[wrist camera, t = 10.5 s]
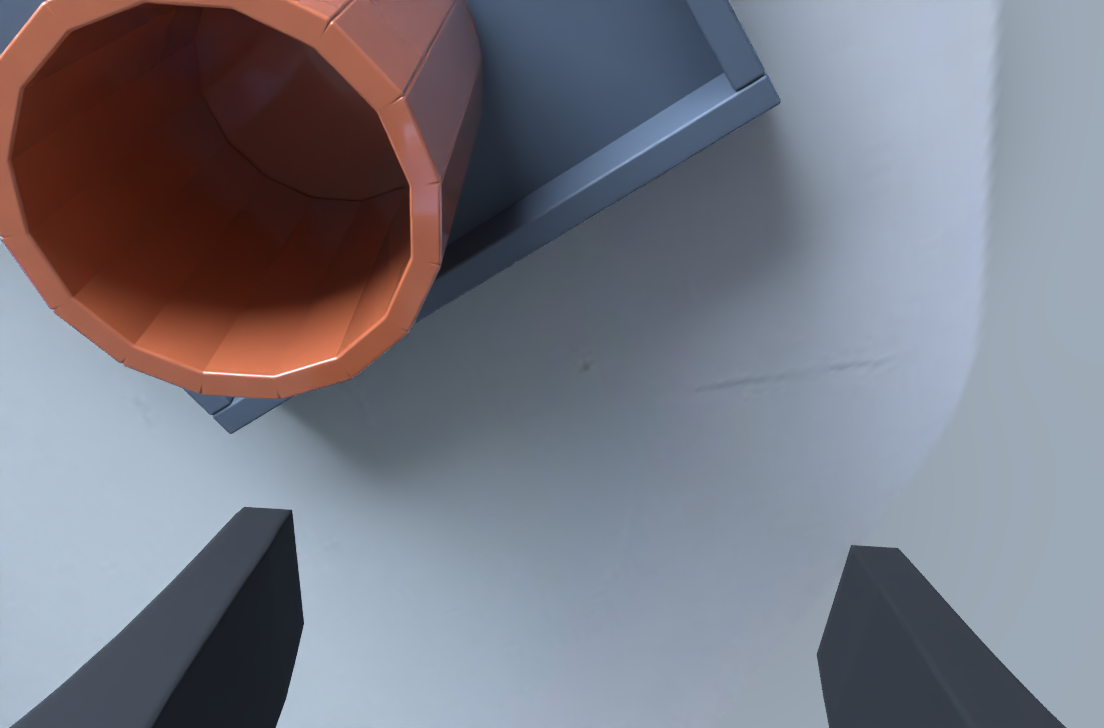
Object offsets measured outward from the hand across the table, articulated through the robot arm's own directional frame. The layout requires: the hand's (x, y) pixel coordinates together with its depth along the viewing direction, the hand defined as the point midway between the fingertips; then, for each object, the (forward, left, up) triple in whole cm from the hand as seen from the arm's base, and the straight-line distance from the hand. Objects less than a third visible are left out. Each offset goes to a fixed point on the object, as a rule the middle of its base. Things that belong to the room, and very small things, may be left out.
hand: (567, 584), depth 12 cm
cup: (+5, -4, -9) cm, 11 cm away
